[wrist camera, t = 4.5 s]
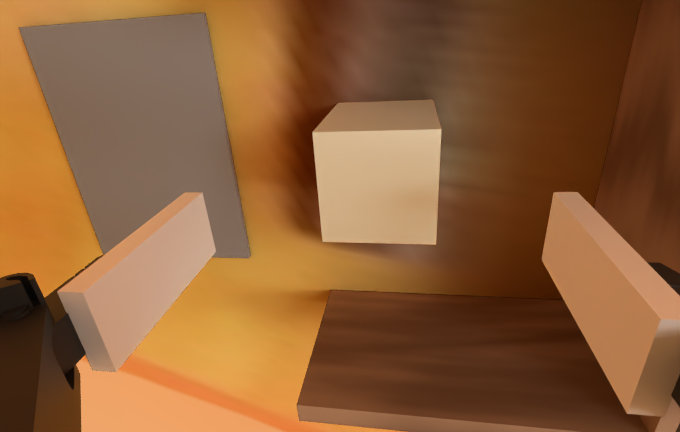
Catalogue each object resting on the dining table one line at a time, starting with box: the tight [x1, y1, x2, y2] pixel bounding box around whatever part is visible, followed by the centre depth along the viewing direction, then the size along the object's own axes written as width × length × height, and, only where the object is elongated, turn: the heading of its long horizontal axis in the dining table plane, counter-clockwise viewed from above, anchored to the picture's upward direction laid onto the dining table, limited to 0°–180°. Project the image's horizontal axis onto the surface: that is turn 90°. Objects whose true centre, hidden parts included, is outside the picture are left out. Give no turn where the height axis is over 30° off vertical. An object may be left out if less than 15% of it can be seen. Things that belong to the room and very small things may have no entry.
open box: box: [297, 0, 680, 432], centre depth 19 cm, size 24×18×10 cm
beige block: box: [312, 99, 442, 245], centre depth 21 cm, size 6×6×7 cm
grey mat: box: [19, 13, 251, 258], centre depth 27 cm, size 16×12×1 cm
